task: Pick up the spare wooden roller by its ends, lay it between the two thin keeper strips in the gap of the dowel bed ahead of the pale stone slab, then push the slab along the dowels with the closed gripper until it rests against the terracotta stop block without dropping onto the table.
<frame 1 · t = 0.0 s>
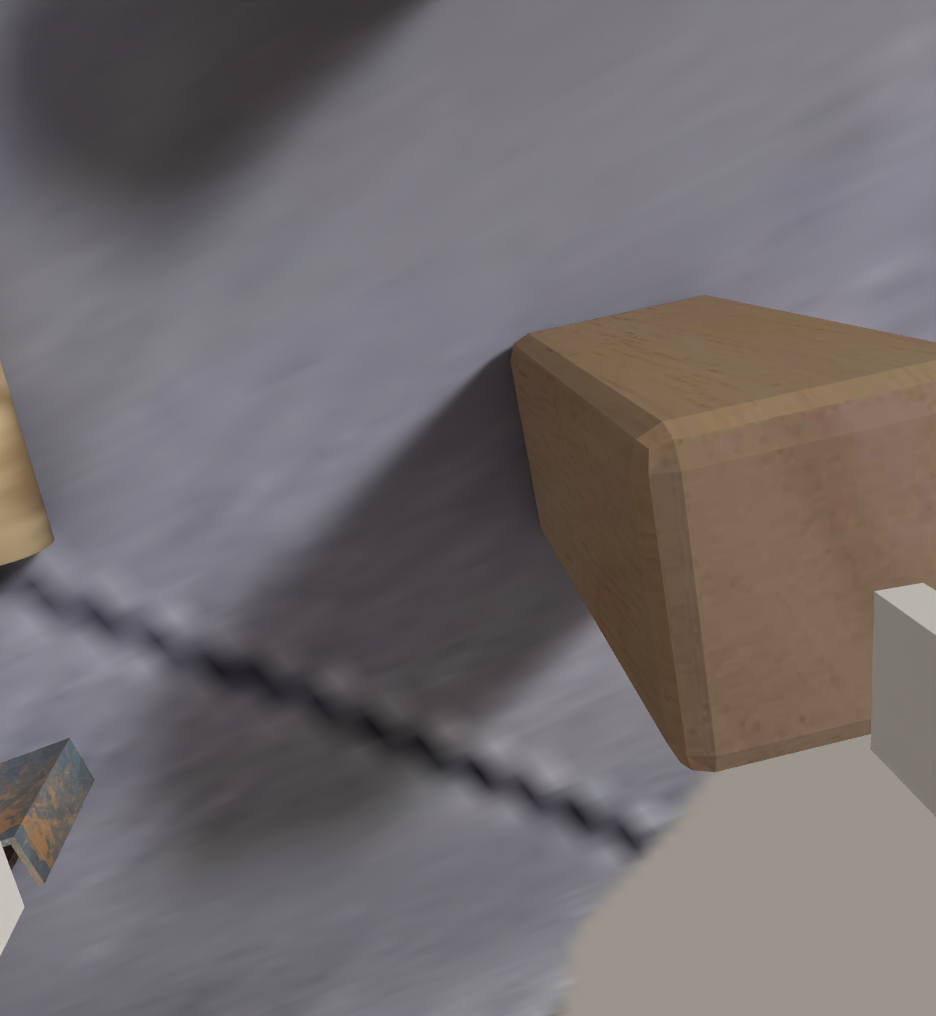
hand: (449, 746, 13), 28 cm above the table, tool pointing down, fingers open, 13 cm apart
roller bed: (75, 390, 38), on the table
block: (624, 418, 41), on the table
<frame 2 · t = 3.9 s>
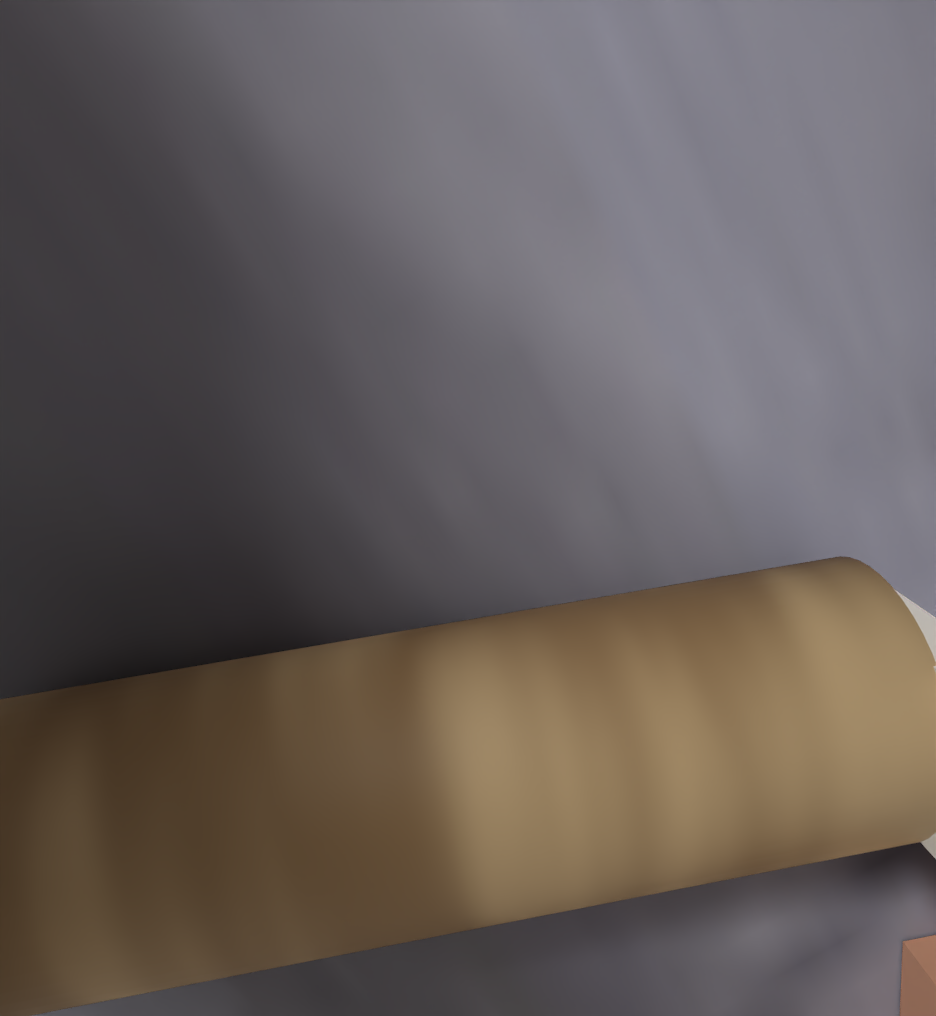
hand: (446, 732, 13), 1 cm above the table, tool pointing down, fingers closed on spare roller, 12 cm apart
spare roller: (440, 695, 14), on the table, touching gripper
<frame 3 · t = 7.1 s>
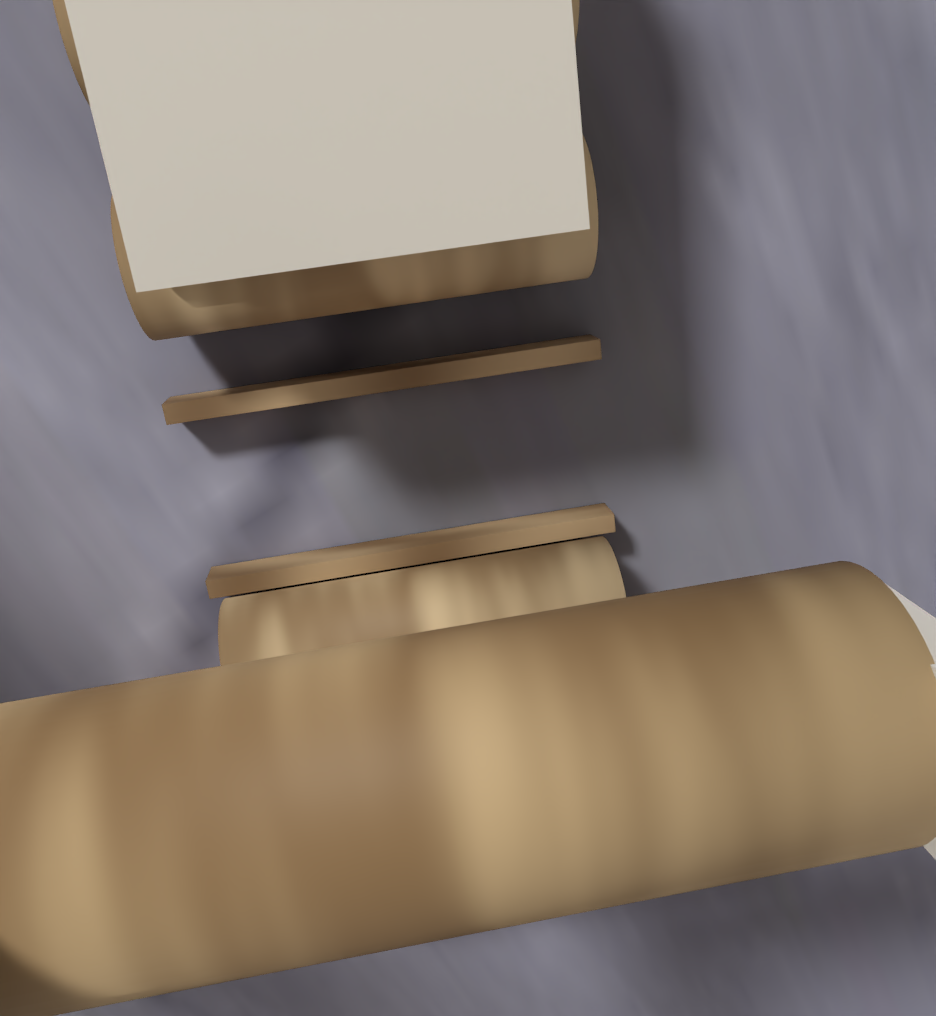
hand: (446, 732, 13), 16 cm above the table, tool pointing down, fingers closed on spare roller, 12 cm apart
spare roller: (441, 699, 14), point 15 cm above the table, touching gripper
when the fingers open (2 cm above the table, at t = 10.2 s): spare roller drops 1 cm, on the table.
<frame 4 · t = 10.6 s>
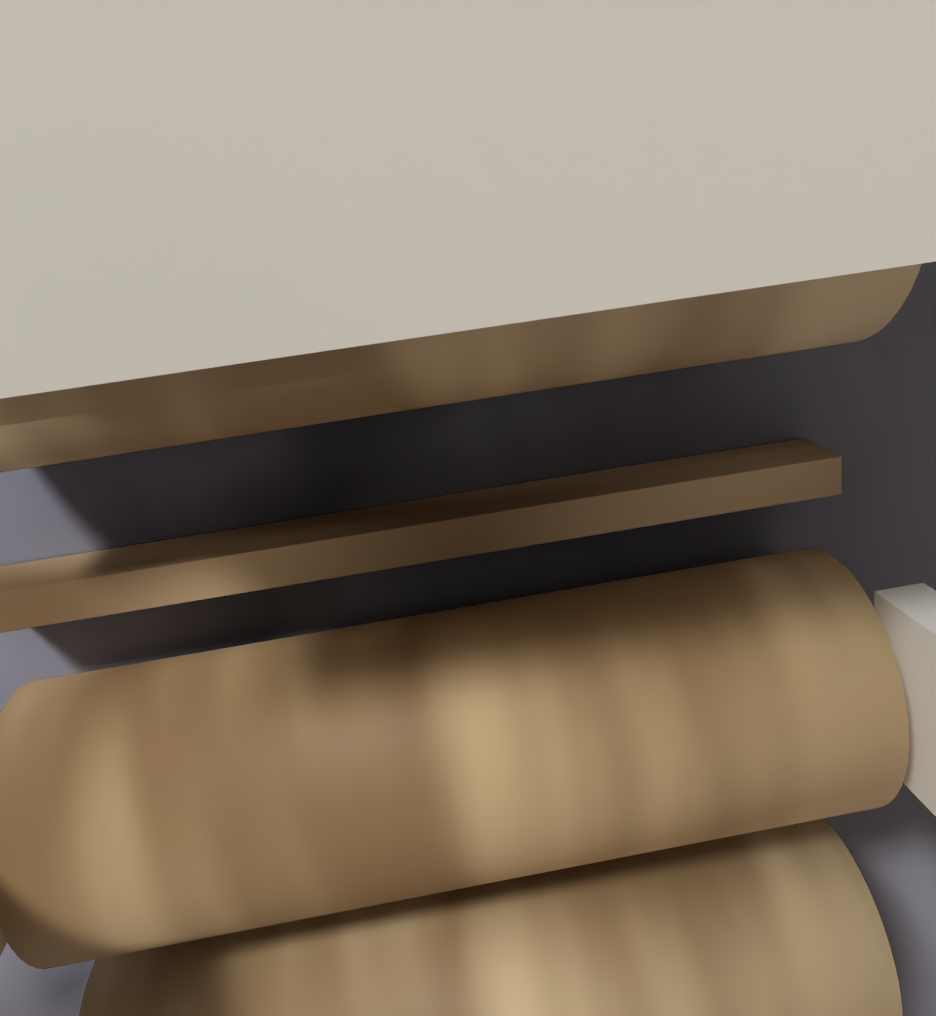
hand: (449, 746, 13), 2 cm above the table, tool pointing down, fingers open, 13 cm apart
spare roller: (440, 665, 15), on the table, tilted 8°
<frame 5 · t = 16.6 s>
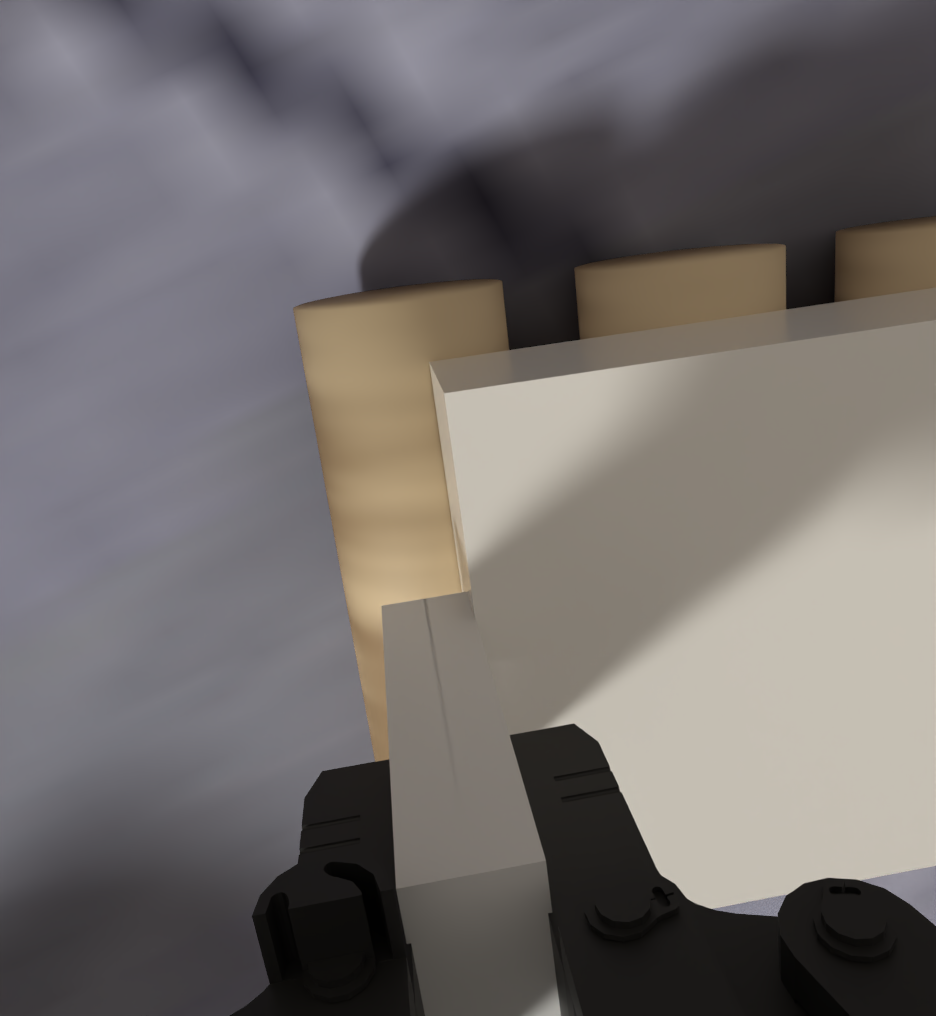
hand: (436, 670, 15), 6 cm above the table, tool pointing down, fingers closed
slab: (767, 570, 17), point 4 cm above the table
roller bed: (261, 574, 20), on the table
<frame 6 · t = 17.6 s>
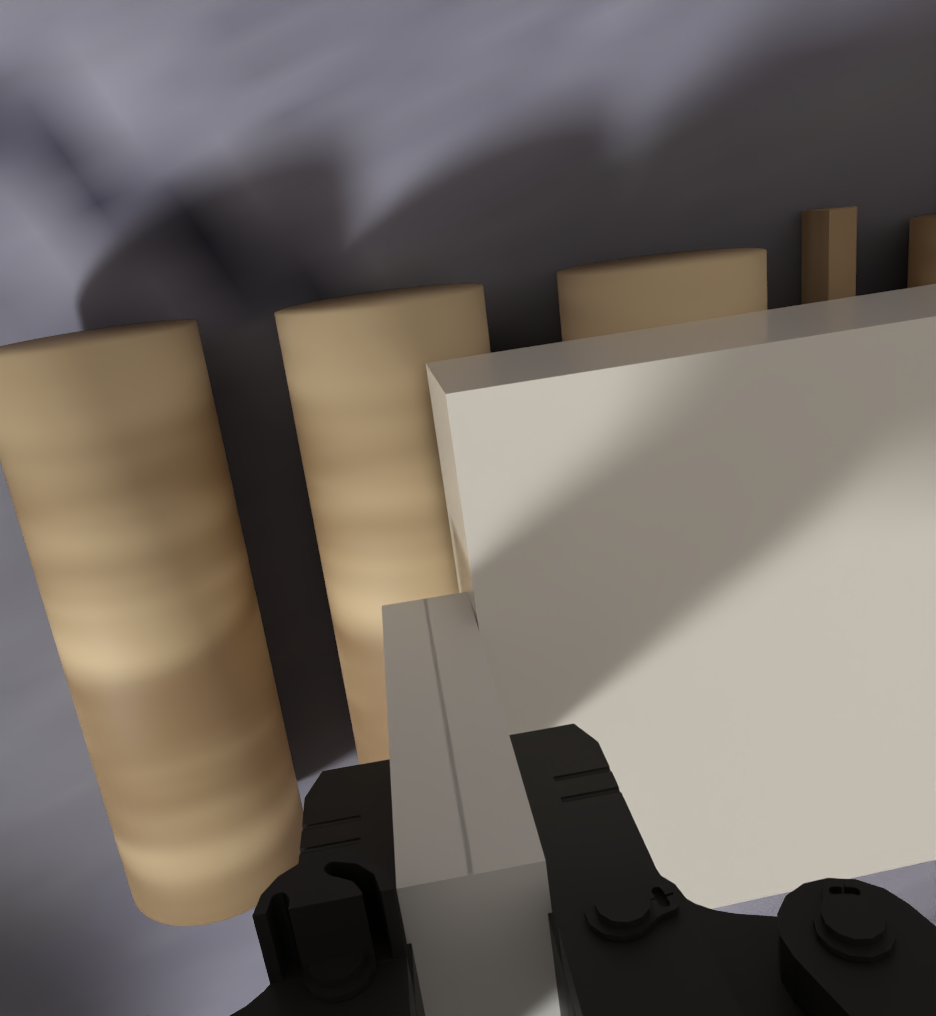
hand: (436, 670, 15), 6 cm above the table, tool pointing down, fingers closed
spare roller: (918, 470, 21), on the table, tilted 21°, touching roller bed, slab
slab: (763, 568, 17), point 4 cm above the table, touching gripper, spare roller
roller bed: (3, 615, 20), on the table
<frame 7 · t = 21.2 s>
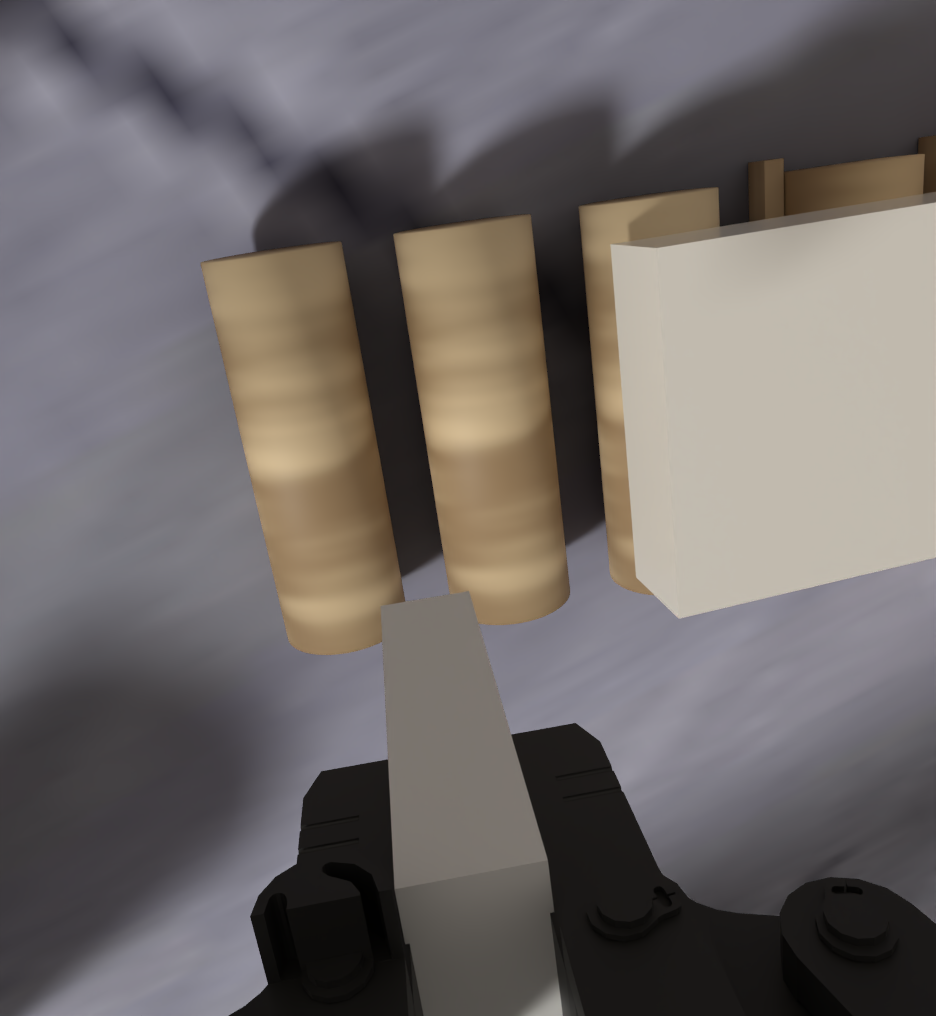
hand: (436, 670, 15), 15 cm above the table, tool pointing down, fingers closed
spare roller: (782, 361, 29), on the table, tilted 59°, touching slab
slab: (810, 385, 26), point 4 cm above the table, tilted 7°, touching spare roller
roller bed: (195, 454, 29), on the table
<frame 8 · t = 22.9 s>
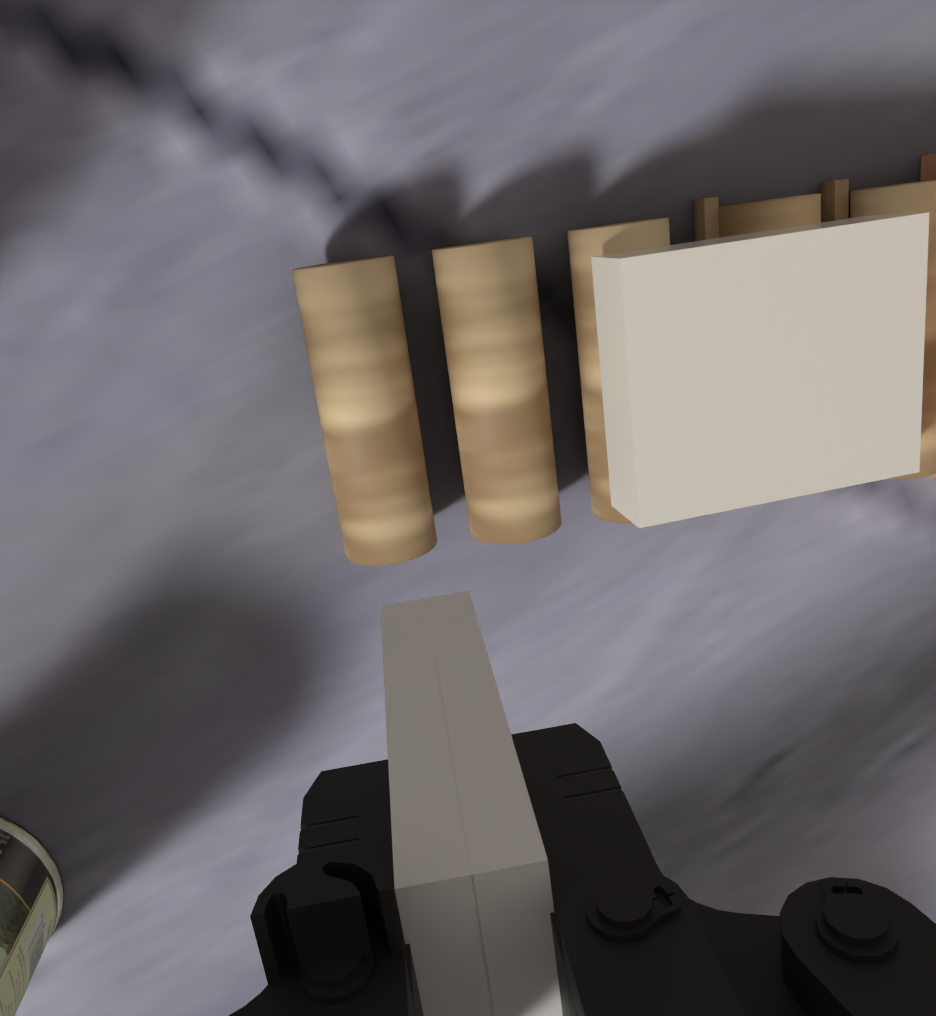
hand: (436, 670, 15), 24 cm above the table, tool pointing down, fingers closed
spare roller: (722, 349, 38), point 1 cm above the table, tilted 61°, touching slab
slab: (741, 362, 35), point 4 cm above the table, tilted 5°, touching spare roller
roller bed: (276, 417, 38), on the table
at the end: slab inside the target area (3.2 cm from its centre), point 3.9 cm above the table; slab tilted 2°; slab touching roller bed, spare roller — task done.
